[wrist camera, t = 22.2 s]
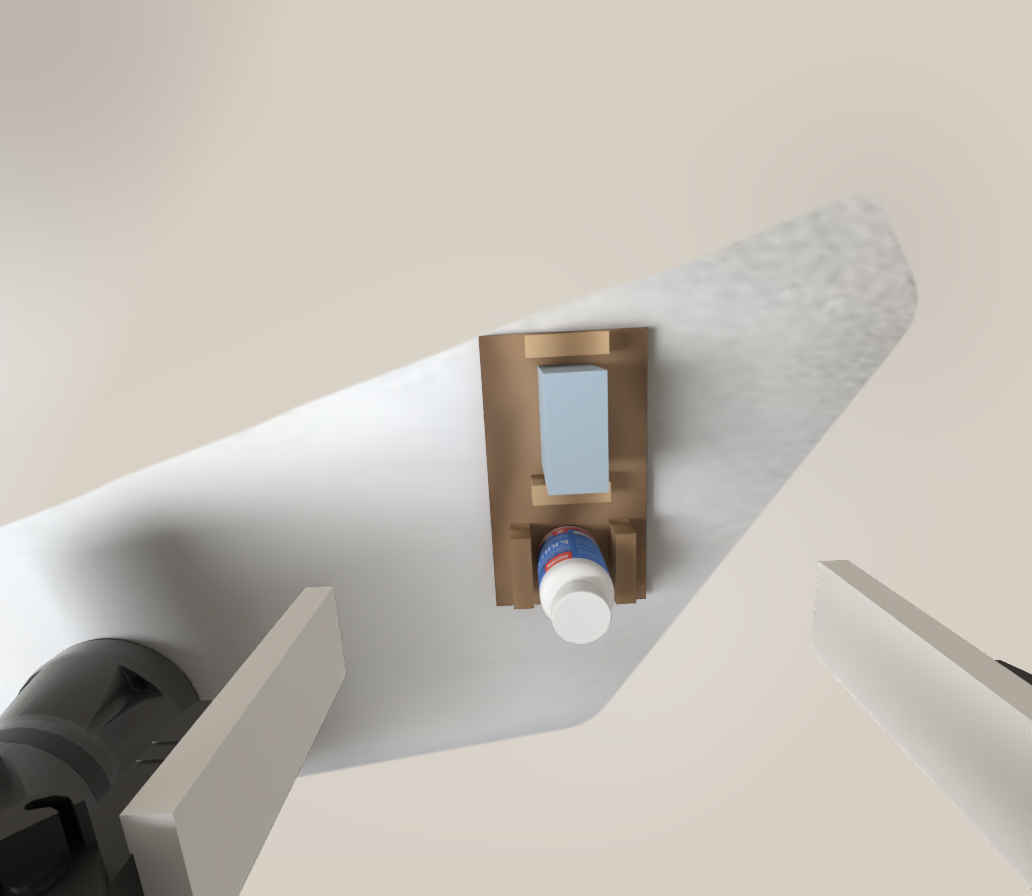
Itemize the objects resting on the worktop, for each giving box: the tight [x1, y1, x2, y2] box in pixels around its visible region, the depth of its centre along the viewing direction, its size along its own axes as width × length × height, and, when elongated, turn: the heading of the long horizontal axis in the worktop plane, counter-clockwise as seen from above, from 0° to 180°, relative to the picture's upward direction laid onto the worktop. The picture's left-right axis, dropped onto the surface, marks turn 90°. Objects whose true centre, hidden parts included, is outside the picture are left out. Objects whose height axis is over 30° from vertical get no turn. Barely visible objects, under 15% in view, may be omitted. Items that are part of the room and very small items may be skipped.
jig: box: [479, 327, 647, 609], centre depth 40 cm, size 13×23×4 cm, turn 3°
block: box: [538, 363, 609, 495], centre depth 36 cm, size 4×8×8 cm, turn 3°
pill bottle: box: [537, 526, 614, 644], centre depth 38 cm, size 6×5×10 cm
